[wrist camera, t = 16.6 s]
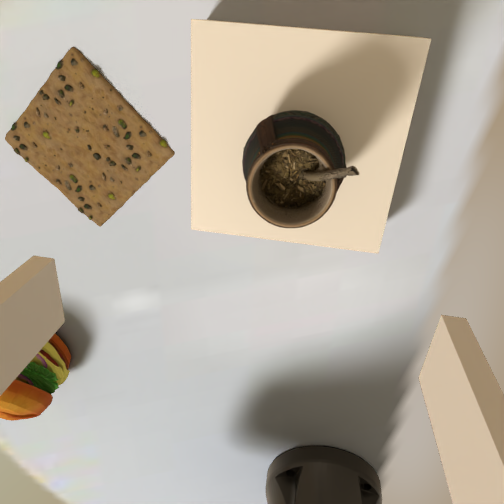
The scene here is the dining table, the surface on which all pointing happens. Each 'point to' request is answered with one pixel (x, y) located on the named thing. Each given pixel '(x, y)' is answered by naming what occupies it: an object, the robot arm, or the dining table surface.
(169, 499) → the dining table surface
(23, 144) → the cookie
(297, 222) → the mate gourd
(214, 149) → the cream square slab
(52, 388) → the cheeseburger
